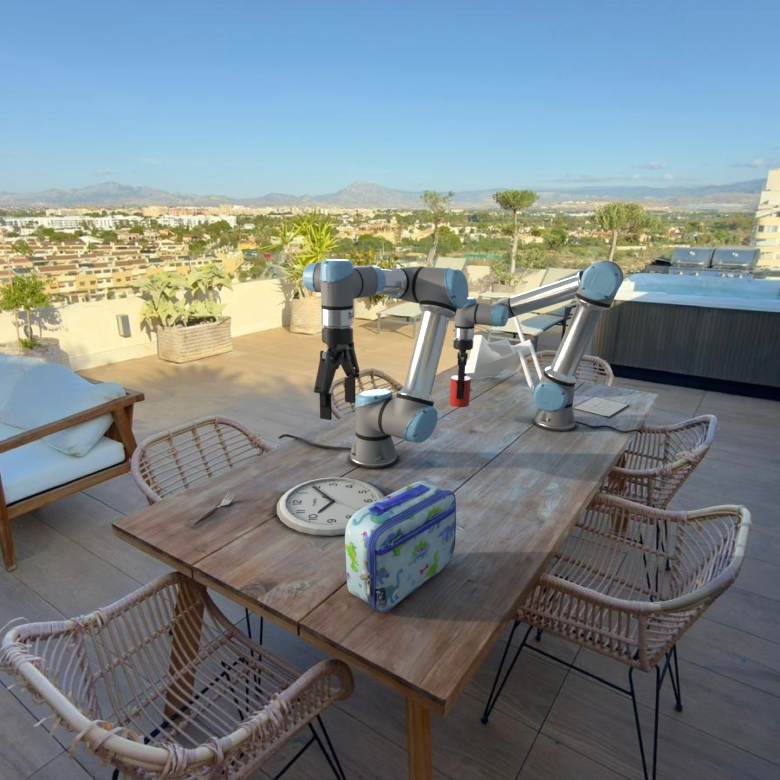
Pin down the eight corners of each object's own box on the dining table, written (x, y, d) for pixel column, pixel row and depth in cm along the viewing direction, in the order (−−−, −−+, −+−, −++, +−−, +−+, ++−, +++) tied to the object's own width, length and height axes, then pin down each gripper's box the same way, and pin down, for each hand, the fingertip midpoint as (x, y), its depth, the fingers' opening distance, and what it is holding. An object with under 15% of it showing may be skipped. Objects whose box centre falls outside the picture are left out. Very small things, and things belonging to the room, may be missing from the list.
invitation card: (608, 416, 214) (573, 407, 224) (608, 416, 214) (573, 408, 224) (628, 404, 229) (594, 396, 238) (628, 405, 229) (594, 397, 238)
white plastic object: (480, 421, 262) (459, 398, 238) (462, 347, 285) (440, 320, 260) (552, 397, 250) (537, 370, 226) (527, 322, 272) (511, 290, 248)
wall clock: (392, 527, 129) (268, 531, 127) (391, 533, 130) (269, 537, 127) (383, 473, 158) (282, 475, 155) (383, 478, 158) (282, 480, 156)
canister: (445, 402, 209) (447, 376, 205) (462, 400, 212) (464, 374, 208) (455, 408, 202) (457, 381, 199) (472, 406, 205) (474, 379, 202)
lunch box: (374, 626, 100) (375, 530, 93) (338, 598, 107) (337, 508, 101) (459, 568, 117) (465, 484, 111) (424, 547, 124) (427, 467, 118)
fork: (190, 525, 132) (189, 518, 131) (229, 496, 146) (228, 490, 145) (198, 527, 131) (198, 520, 130) (237, 498, 145) (236, 491, 145)
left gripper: (327, 337, 112) (329, 429, 118) (372, 319, 134) (371, 397, 141) (296, 334, 115) (300, 424, 121) (345, 317, 137) (346, 394, 143)
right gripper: (454, 332, 209) (451, 387, 216) (453, 343, 189) (449, 403, 196) (473, 333, 208) (469, 388, 215) (473, 344, 189) (469, 404, 195)
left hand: (338, 410), depth 131 cm, fingers open, 13 cm apart
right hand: (460, 395), depth 206 cm, fingers closed on canister, 8 cm apart
